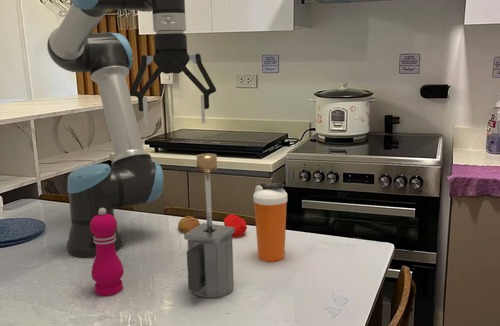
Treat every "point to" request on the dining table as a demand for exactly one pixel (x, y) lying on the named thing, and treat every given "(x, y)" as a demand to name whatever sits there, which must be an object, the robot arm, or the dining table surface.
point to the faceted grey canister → (210, 261)
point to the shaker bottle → (270, 220)
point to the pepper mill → (106, 255)
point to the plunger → (207, 181)
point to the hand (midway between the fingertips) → (175, 124)
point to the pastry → (187, 224)
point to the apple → (236, 224)
